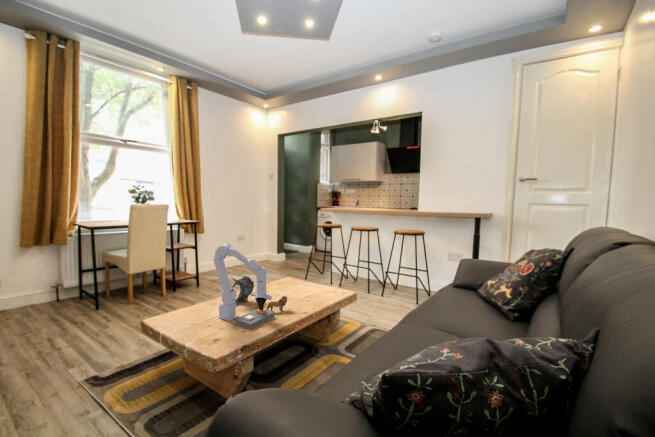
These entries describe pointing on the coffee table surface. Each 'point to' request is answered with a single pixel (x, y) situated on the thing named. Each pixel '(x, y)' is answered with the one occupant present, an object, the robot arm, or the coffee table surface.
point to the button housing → (256, 321)
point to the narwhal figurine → (244, 288)
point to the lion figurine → (278, 303)
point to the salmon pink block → (261, 312)
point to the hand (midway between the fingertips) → (261, 309)
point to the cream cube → (249, 318)
